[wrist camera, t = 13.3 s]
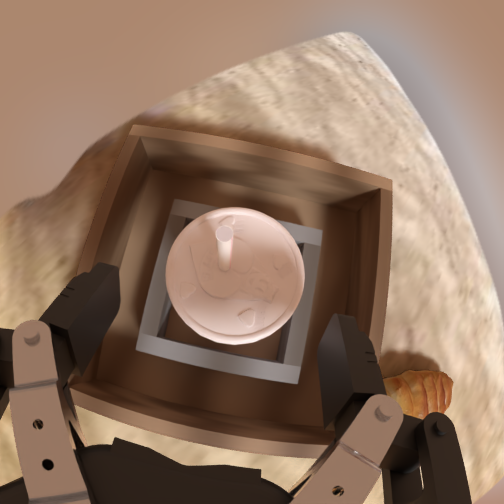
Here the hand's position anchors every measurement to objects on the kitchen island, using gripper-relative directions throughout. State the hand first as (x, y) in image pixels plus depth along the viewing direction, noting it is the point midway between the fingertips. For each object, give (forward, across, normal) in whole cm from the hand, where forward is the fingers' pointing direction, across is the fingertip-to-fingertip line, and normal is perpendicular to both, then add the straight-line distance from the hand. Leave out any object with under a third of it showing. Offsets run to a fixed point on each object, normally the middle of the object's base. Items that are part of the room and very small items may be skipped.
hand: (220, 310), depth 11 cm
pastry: (+6, -17, +13) cm, 22 cm away
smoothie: (+10, 0, +7) cm, 12 cm away
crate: (+11, 0, +8) cm, 13 cm away
